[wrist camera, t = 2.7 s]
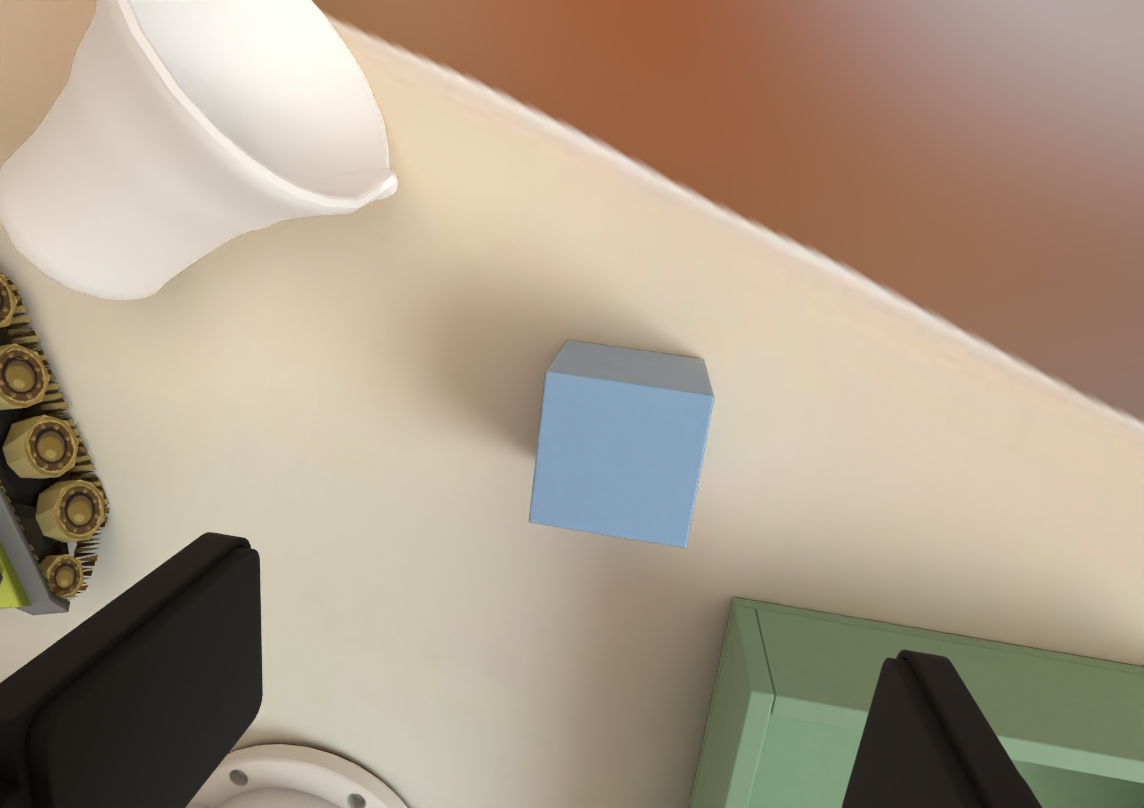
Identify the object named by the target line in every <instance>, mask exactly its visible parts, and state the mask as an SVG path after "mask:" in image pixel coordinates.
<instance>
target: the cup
mask: <svg viewBox="0 0 1144 808" xmlns="http://www.w3.org/2000/svg"><path fill="white" fill-rule="evenodd" d="M397 186H398V176H397V175H396V174H395V173H394V172H393V171H391V170H390V168H389V146H388V141H387V136H386V131H385V126H384V121H383V117H382V115H381V113H380V110H379V108H378V105H377V103H376V100H375V98H374V96H373V93H372V91H371V88H370V86H369V83H368V81H367V79H366V77H365V75H364V74H363V72H362V70H361V68H360V66H359V65H358V63H357V61H356V59H355V57H354V56H353V54H352V53H351V51H350V50H349V48H348V47H347V45H346V44H345V42H344V41H343V39H342V38H341V37H340V35H339V34H338V32H337V31H336V30H335V28H334V27H333V26H332V24H331V23H330V22H329V20H328V19H327V17H326V16H325V15H324V14H323V13H322V12H321V10H320V9H319V8H318V7H317V6H316V5H315V4H314V2H313V1H312V0H97V1H96V9H95V16H94V18H93V20H92V22H91V24H90V26H89V27H88V29H87V31H86V33H85V35H84V37H83V39H82V41H81V43H80V45H79V47H78V49H77V51H76V54H75V56H74V59H73V63H72V68H71V73H70V78H69V80H68V81H67V83H66V85H65V87H64V89H63V90H62V92H61V94H60V96H59V97H58V99H57V100H56V102H55V103H54V105H53V107H52V108H51V110H50V111H49V112H48V114H47V115H46V117H45V118H44V119H43V121H42V122H41V123H40V125H39V126H38V127H37V128H36V130H35V131H34V132H33V133H32V135H31V136H30V137H29V138H28V139H27V140H26V141H25V142H24V143H23V144H22V145H21V146H20V147H19V148H18V149H17V150H16V151H15V152H14V153H13V154H12V155H11V156H10V157H9V158H8V160H7V161H6V162H5V163H4V164H3V165H2V166H1V168H0V223H1V225H2V227H3V229H4V230H5V232H6V233H7V235H8V237H9V238H10V240H11V242H12V243H13V245H14V247H15V248H16V250H17V252H18V253H19V254H21V255H22V256H23V257H24V258H25V259H26V260H28V261H29V262H30V263H31V264H32V265H33V266H35V267H36V268H37V269H38V270H39V271H41V272H42V273H43V274H44V275H46V276H47V277H49V278H51V279H52V280H54V281H56V282H58V283H59V284H61V285H63V286H64V287H66V288H68V289H70V290H73V291H77V292H80V293H83V294H86V295H89V296H93V297H96V298H105V299H114V300H134V299H142V298H145V297H148V296H150V295H153V294H156V293H157V292H158V291H159V290H160V289H161V288H162V286H163V285H164V284H166V283H167V282H168V281H169V280H171V279H172V278H173V277H174V276H176V275H177V274H178V273H180V272H181V271H182V270H184V269H185V268H187V267H188V266H190V265H191V264H193V263H194V262H196V261H197V260H199V259H200V258H202V257H203V256H205V255H206V254H208V253H209V252H211V251H212V250H214V249H215V248H217V247H219V246H220V245H222V244H224V243H225V242H227V241H229V240H231V239H233V238H235V237H237V236H239V235H242V234H244V233H246V232H250V231H255V230H260V229H264V228H266V227H268V226H270V225H272V224H274V223H276V222H279V221H284V220H288V219H292V218H300V217H309V216H322V215H341V214H348V213H353V212H355V211H356V210H358V209H360V208H362V207H363V206H365V205H367V204H368V203H370V202H372V201H374V200H381V199H386V198H387V197H389V196H391V195H393V194H394V193H395V191H396V190H397Z"/></svg>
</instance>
